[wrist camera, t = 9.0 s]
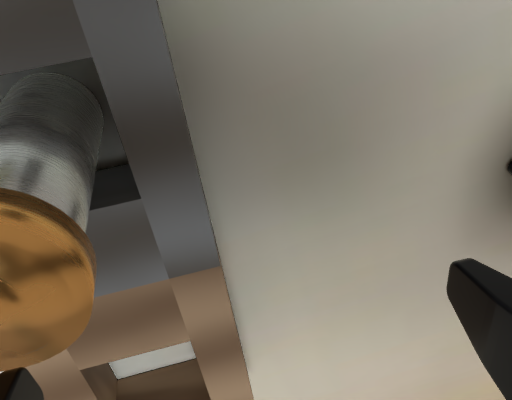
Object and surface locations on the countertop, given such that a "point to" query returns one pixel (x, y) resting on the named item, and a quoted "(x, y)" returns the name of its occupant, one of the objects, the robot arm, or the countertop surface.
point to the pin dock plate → (136, 213)
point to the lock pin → (46, 216)
